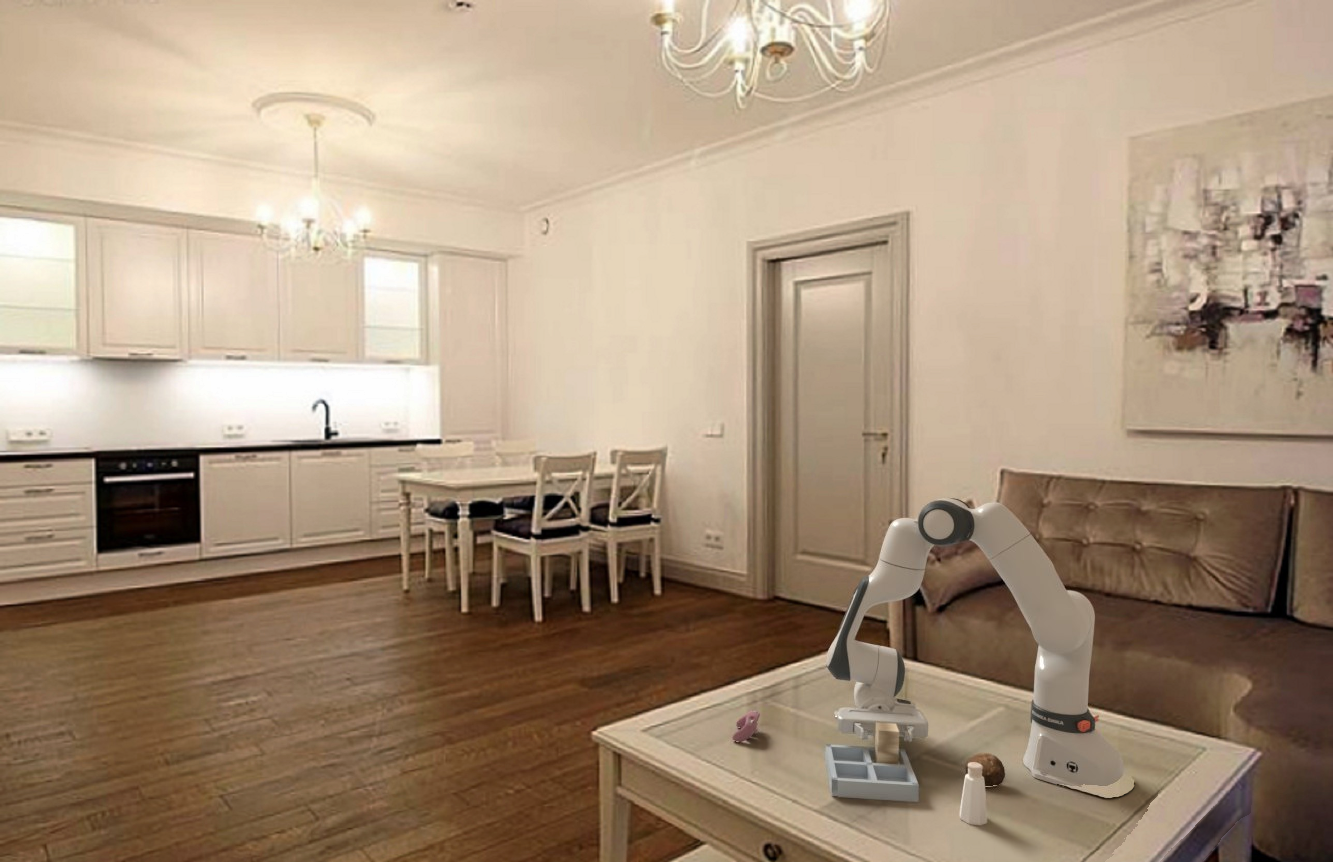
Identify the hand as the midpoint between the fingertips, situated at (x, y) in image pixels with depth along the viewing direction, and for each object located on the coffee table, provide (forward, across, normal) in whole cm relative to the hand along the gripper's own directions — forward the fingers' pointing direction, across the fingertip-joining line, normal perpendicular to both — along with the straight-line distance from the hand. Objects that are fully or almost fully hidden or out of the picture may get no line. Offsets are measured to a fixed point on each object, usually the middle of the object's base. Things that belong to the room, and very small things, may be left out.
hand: (886, 737), depth 189 cm
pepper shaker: (+18, +14, +8) cm, 25 cm away
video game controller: (-15, -31, +8) cm, 35 cm away
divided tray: (+4, -4, +8) cm, 10 cm away
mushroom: (+2, +21, +8) cm, 22 cm away
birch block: (0, 0, +7) cm, 7 cm away
